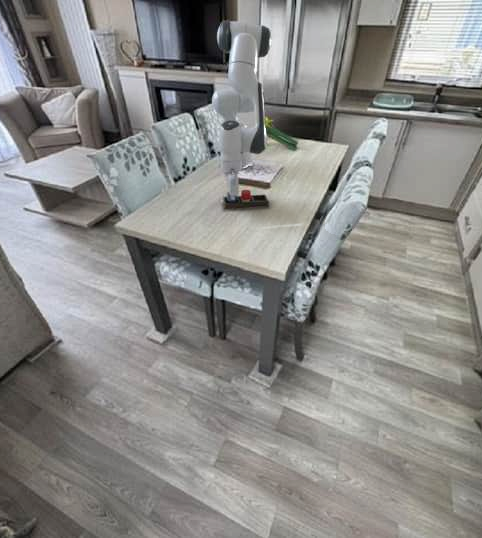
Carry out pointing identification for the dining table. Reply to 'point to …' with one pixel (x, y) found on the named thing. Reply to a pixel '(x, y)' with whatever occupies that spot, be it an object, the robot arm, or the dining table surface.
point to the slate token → (230, 198)
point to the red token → (245, 194)
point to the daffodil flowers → (289, 143)
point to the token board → (252, 203)
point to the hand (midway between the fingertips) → (231, 196)
